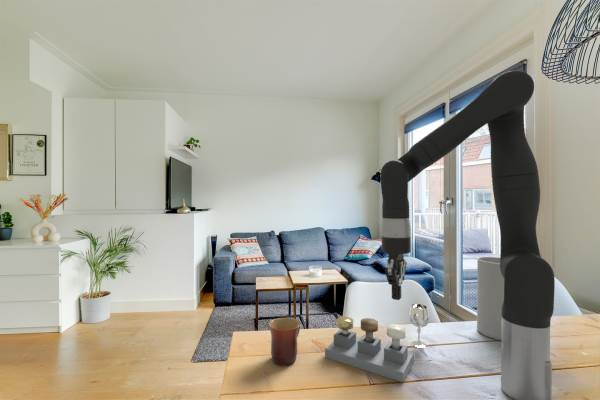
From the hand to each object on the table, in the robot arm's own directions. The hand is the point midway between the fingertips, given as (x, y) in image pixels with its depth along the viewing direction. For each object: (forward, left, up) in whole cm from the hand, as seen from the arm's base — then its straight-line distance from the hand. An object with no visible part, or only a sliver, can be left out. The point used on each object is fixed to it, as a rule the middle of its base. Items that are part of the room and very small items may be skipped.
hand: (396, 298), depth 83 cm
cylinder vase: (-23, -40, -19) cm, 50 cm away
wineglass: (-2, -17, -19) cm, 25 cm away
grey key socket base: (+8, 0, -19) cm, 20 cm away
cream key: (0, 0, -14) cm, 14 cm away
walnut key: (+8, 0, -14) cm, 16 cm away
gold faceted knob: (+15, 0, -15) cm, 21 cm away
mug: (+28, +12, -19) cm, 35 cm away
